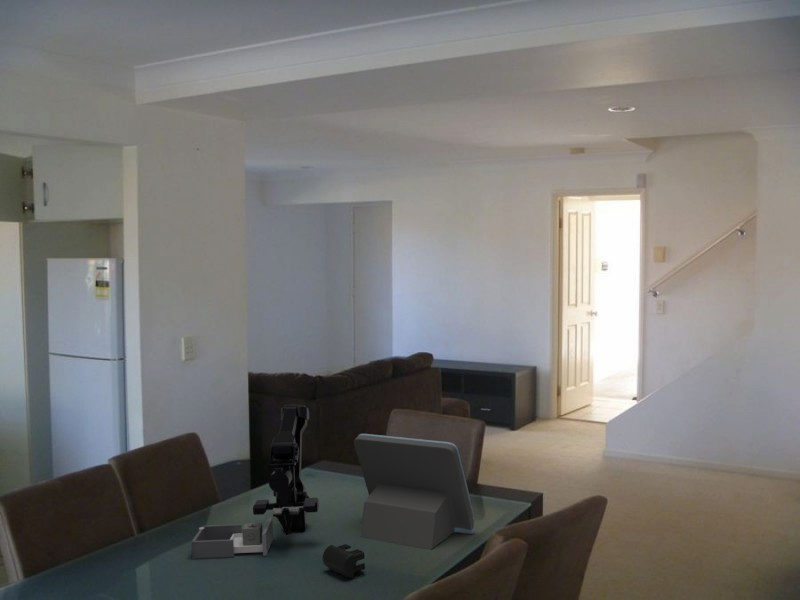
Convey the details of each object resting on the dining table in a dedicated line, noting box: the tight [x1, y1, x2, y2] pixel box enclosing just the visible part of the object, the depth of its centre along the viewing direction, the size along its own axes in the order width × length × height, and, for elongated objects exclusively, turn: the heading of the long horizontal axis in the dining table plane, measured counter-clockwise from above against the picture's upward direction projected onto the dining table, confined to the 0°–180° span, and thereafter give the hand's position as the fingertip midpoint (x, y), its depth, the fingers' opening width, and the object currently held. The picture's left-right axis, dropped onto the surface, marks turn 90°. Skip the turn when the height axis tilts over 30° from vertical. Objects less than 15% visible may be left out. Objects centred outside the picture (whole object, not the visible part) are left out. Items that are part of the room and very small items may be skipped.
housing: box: [190, 523, 243, 560], centre depth 235 cm, size 12×14×5 cm
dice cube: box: [242, 522, 263, 546], centre depth 235 cm, size 5×5×5 cm
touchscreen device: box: [353, 433, 475, 550], centre depth 242 cm, size 35×20×30 cm, turn 59°
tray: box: [230, 517, 274, 557], centre depth 235 cm, size 12×14×6 cm
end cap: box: [322, 543, 366, 580], centre depth 213 cm, size 10×7×7 cm
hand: (287, 534), depth 235 cm, fingers closed
